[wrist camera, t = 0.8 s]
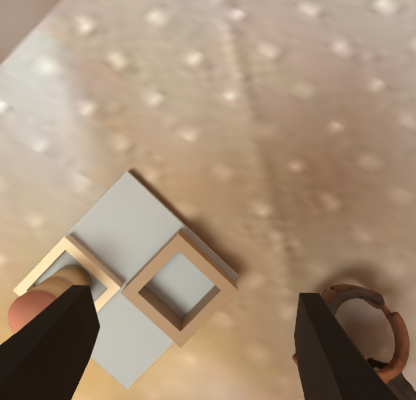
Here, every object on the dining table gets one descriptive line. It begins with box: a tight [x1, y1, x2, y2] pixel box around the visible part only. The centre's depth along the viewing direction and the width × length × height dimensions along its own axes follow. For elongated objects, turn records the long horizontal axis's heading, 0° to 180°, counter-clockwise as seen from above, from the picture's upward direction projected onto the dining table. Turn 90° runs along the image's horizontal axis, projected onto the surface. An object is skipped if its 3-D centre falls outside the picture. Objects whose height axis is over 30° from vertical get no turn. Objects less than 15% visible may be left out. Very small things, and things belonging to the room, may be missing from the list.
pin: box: [8, 265, 92, 334], centre depth 27 cm, size 4×4×7 cm
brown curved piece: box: [293, 284, 416, 400], centre depth 30 cm, size 12×10×8 cm
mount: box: [13, 171, 238, 389], centre depth 30 cm, size 15×14×4 cm
